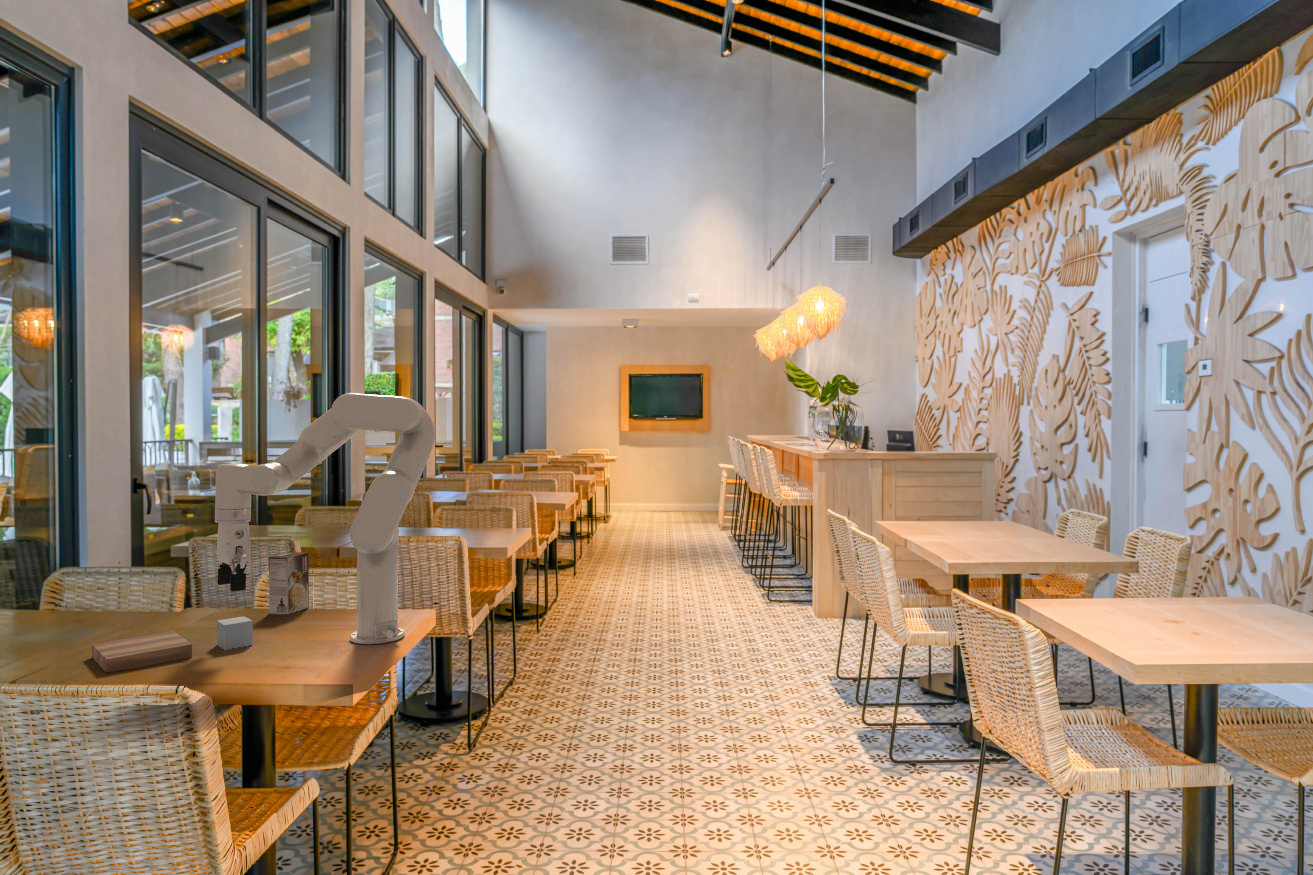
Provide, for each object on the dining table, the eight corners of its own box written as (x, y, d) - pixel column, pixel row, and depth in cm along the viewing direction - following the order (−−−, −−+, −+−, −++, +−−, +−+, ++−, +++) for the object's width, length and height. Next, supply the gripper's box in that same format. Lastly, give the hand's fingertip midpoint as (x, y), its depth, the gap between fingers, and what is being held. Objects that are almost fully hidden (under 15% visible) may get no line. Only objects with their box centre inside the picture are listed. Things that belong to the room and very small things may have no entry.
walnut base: (192, 657, 175) (191, 644, 174) (106, 673, 163) (106, 659, 163) (173, 643, 186) (173, 630, 186) (92, 657, 175) (92, 644, 175)
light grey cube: (252, 645, 184) (252, 620, 184) (224, 650, 180) (224, 625, 180) (244, 640, 189) (244, 616, 189) (217, 645, 184) (216, 620, 184)
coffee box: (290, 606, 224) (289, 551, 224) (309, 607, 223) (309, 552, 223) (268, 614, 215) (267, 556, 215) (288, 615, 214) (288, 557, 214)
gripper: (262, 518, 180) (260, 591, 181) (238, 511, 193) (237, 579, 193) (226, 520, 175) (225, 595, 175) (204, 513, 187) (203, 583, 188)
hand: (231, 587), depth 184 cm, fingers open, 9 cm apart
